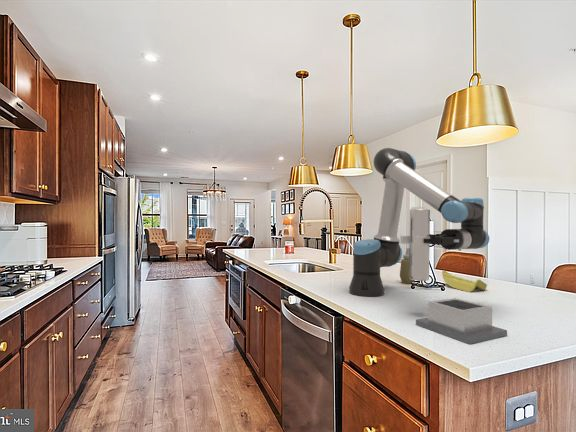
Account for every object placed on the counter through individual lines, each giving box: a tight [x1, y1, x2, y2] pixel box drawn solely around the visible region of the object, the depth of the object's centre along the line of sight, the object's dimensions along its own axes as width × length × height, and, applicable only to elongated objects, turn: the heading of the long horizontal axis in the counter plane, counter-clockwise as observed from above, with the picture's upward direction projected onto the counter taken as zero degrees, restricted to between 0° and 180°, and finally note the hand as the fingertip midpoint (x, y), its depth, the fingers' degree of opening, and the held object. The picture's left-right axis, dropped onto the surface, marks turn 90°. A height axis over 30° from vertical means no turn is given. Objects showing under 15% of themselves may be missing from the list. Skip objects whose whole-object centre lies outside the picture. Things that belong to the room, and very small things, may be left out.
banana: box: [441, 269, 488, 293], centre depth 161 cm, size 20×7×10 cm
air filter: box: [408, 206, 431, 282], centre depth 114 cm, size 6×6×25 cm
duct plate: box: [415, 297, 508, 345], centre depth 98 cm, size 18×16×8 cm
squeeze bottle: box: [399, 247, 416, 285], centre depth 171 cm, size 8×8×18 cm
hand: (408, 240), depth 112 cm, fingers closed on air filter, 5 cm apart
